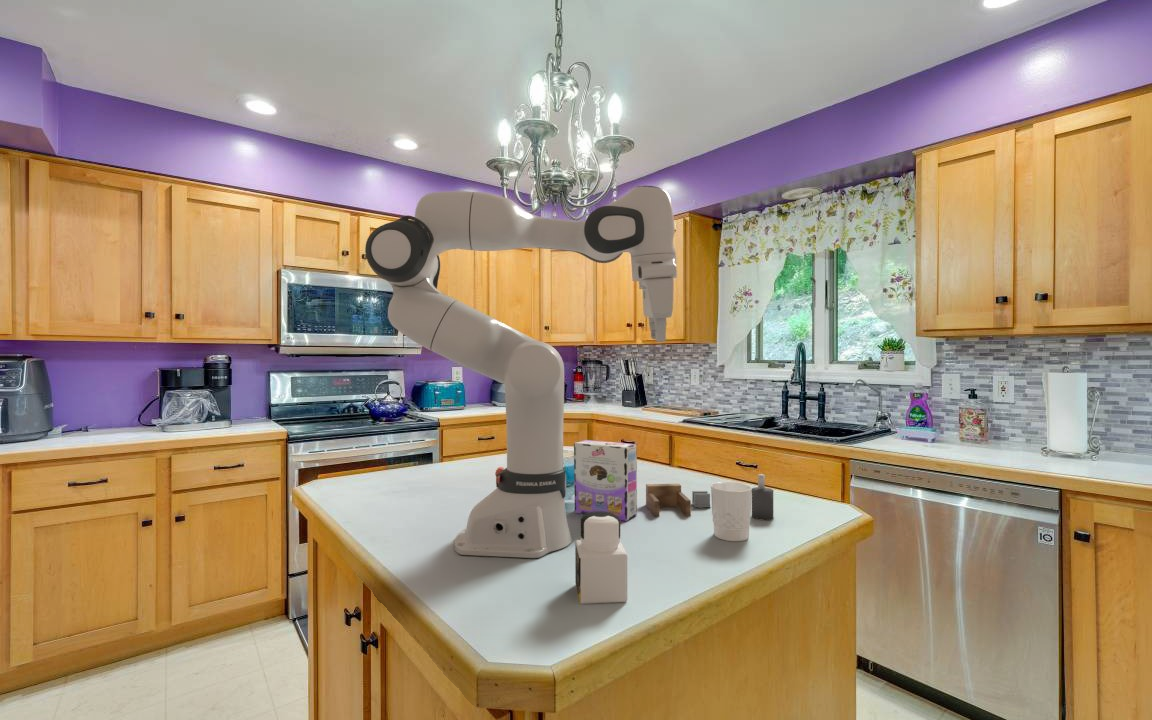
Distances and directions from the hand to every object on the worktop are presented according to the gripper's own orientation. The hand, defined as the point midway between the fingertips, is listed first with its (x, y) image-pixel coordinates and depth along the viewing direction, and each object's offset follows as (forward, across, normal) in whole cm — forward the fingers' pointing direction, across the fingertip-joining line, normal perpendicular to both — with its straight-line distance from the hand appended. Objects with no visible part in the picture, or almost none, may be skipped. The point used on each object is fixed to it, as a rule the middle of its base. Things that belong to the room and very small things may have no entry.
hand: (658, 340), depth 107 cm
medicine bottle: (+36, +30, -14) cm, 49 cm away
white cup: (+40, +3, +12) cm, 42 cm away
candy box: (+40, -11, -13) cm, 44 cm away
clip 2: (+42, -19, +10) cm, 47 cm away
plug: (+42, -10, +22) cm, 49 cm away
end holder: (+41, -14, +2) cm, 43 cm away
